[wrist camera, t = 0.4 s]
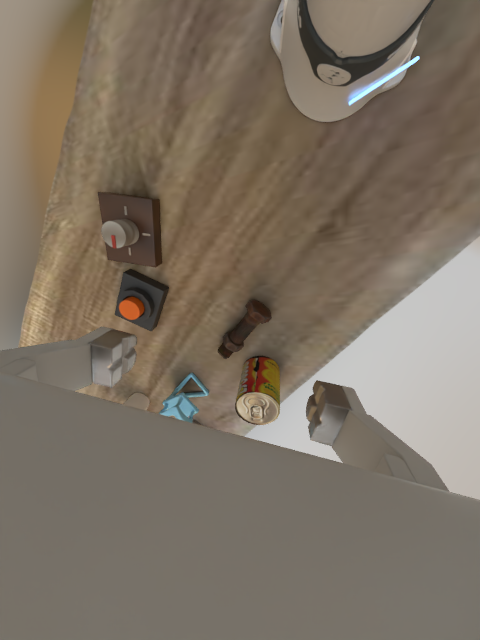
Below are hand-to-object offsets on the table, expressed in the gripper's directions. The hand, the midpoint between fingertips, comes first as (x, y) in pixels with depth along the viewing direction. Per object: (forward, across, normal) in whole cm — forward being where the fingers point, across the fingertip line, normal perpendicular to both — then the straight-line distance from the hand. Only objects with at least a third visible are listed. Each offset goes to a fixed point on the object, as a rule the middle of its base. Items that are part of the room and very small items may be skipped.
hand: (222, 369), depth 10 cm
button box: (+40, +24, +14) cm, 48 cm away
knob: (+35, +26, -1) cm, 43 cm away
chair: (+43, +12, +37) cm, 58 cm away
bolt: (+40, +2, +15) cm, 43 cm away
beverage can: (+42, -5, +26) cm, 49 cm away
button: (+35, +24, +14) cm, 45 cm away
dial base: (+38, +26, -1) cm, 46 cm away
